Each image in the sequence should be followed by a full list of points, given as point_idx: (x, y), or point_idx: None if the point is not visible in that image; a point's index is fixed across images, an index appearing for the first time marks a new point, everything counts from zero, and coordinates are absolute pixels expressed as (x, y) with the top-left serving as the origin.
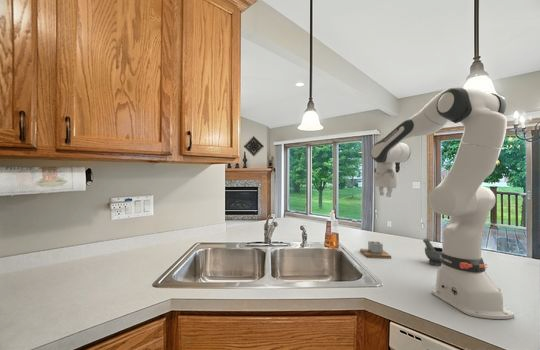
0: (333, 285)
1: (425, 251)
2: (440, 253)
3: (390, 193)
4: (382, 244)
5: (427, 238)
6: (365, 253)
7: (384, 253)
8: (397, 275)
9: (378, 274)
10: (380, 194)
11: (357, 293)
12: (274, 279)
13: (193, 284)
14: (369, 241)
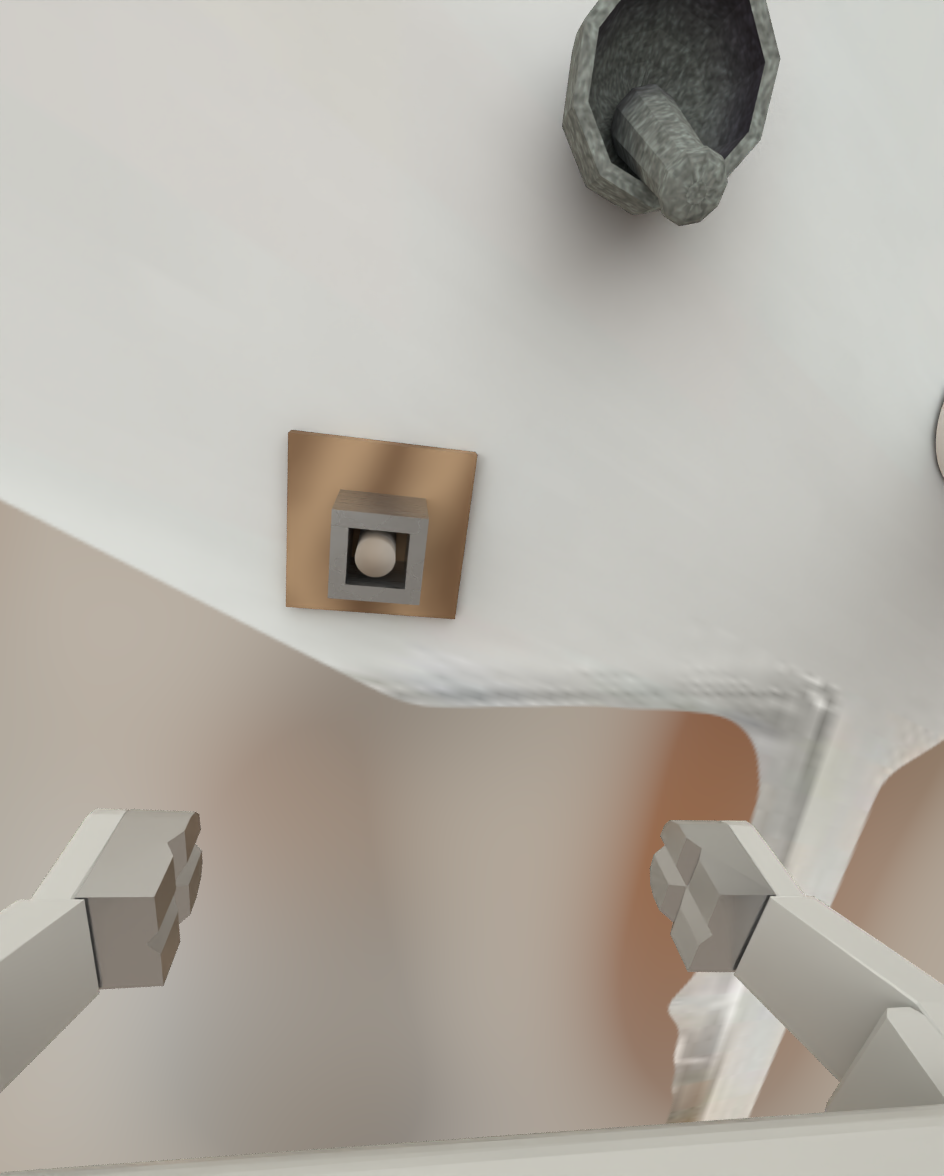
0: (775, 845)
1: (614, 198)
2: (756, 131)
3: (798, 906)
4: (428, 520)
5: (699, 157)
6: (412, 614)
7: (409, 475)
8: (752, 570)
9: (719, 655)
10: (181, 905)
11: (856, 790)
12: (682, 991)
13: None
14: (332, 590)
